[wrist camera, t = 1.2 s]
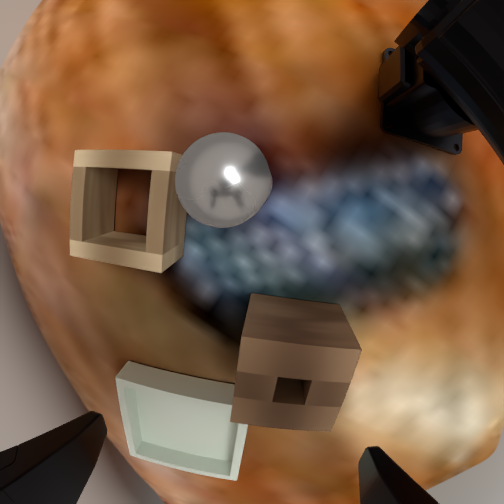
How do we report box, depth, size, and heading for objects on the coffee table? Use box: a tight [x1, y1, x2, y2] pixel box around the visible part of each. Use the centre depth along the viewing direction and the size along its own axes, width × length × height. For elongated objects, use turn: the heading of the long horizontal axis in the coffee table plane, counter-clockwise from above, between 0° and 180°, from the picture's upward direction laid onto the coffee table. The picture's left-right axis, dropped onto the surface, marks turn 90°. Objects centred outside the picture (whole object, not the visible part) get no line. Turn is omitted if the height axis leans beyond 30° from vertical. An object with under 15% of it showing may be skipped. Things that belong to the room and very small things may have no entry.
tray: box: [115, 361, 248, 481], centre depth 22 cm, size 10×10×2 cm
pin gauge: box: [175, 132, 273, 228], centre depth 13 cm, size 3×3×10 cm
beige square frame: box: [70, 150, 187, 273], centre depth 17 cm, size 6×6×4 cm
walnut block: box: [230, 293, 362, 432], centre depth 17 cm, size 6×6×6 cm
